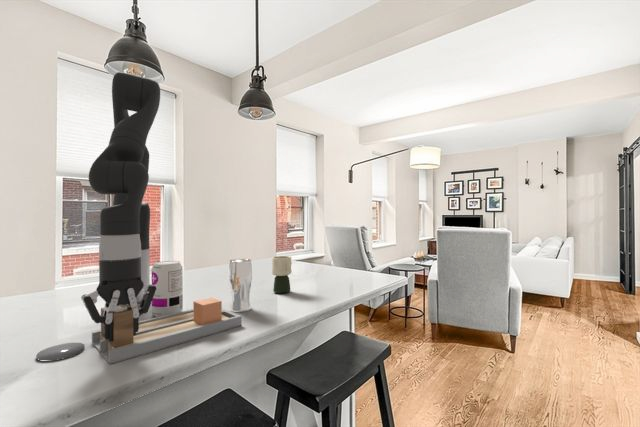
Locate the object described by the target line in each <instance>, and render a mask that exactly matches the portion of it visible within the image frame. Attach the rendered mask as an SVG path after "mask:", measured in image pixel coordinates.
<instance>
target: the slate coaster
mask: <svg viewBox="0 0 640 427" xmlns="http://www.w3.org/2000/svg"><path fill="white" fill-rule="evenodd" d="M85 347H86V345H85V343H83V342H66V343H65V342H64V343H61V344H57V345H52V346H50V347H47V348H44V349H42V350H41V351H39V352H37V354H36V356H35V359H36V358H37V359H39V360H57V359H62V358H66V359H68V358H67V357H69V358H71V357H70V356H72V357H74V356H73V355H75V356H77V355H79V354H80V352H81V353H82V352H83V351H85V349H84V348H85ZM78 353H79V354H78ZM76 354H77V355H76ZM37 359H36V360H37ZM62 360H63V359H62ZM57 361H58V360H57Z"/></svg>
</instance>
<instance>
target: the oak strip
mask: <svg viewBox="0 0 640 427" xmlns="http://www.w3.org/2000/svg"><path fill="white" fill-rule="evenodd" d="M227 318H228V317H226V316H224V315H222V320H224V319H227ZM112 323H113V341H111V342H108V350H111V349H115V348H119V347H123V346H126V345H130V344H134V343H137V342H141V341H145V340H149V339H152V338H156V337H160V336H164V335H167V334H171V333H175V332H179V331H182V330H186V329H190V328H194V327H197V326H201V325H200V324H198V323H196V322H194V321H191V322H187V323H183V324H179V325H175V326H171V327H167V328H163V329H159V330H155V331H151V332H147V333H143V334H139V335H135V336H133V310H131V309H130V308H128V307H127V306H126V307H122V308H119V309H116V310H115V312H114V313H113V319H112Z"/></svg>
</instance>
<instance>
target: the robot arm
mask: <svg viewBox="0 0 640 427" xmlns="http://www.w3.org/2000/svg"><path fill="white" fill-rule="evenodd" d="M111 83H112V84H111V97H112V99H111V100H112V110H113V126H114V127H113V130H112V131H111V136H110V139H109V142H108V146H106V147H105V149H104V150H103V151H102V153H100V155H99V156H97V157H96V159H94V161H93V162H92V165H91V167H90V168H89V172H88V183H89V185H90V187H91V188H92V190H94V192H96V193H97V194H100V195H113V201H112V205H111V206H110V205H109V206H106V207H103V208H102V209H101V210H100V215H99V216H100V217H99V218H100V220H99V222H100V223H99V224H100V226H99V227H100V233H99V234H100V239H99V245H98V272H99V276H98V278H99V282H98V283H99V284H98V285H97V286H96V289H95V291H93V292H90V293H88V294H82V295H81V301H82V302H83V304H84V307H85V308H86V310H87V312H88V313H89V316H90V318H91V320H92V321H94V323H95V324H101V323H103V336H104V338H105V339H106V340H108V341H109V342H111V341H113V323H112V319H113V313H114V312H115V310H116V306H121V305H126V307H128V308H130V309H131V310H133V336H135V335H136V332H138V330H139V321H140V320H139V319H140V316H141V315H143V314H147V313H148V312H149V309H150V307H151V305H152V299H153V296H154V294H155V291H156V286H153V285H152V283H151V279H150V275H151V274H150V273H151V271H150V270H151V266H150V264H151V263H150V262H151V261H150V228H151V227H150V224H151V222H150V221H151V209H150V208H151V207H150V205H149V202H145V201H143V200H144V196H145V194H146V191H147V187H148V184H149V181H150V180H149V179H150V175H149V167H150V152H149V150H148V147H147V145H146V144H147V139H148V135H149V133H150V131H151V128H152V125H153V124H154V122H155V119H156V116H157V114H158V111H159V107H160V103H161V87H160V84H159V82H157V81H156V80H154V79H151V78H147V77H144V76H140V75H135V74H132V73H128V72H123V71H117V72H116V73H114V75H113V78H112V82H111ZM129 111H131V112H135V113H132V114H131V115H129ZM99 297H100V298H101V299H103V301H104V302H105V303H104V307H103V308H104V314H103V315H101V313H100V312H99V310H98V309H97V307H96V305H95V304H96V303H97V302H98V298H99ZM138 303H139V307H138ZM112 306H113V307H112Z"/></svg>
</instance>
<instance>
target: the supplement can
mask: <svg viewBox="0 0 640 427" xmlns="http://www.w3.org/2000/svg"><path fill="white" fill-rule="evenodd" d="M183 280H184V279H183V266H182V263H181V261H179V260H163V261H156V262H154V263H153V266H152V267H151V285H153V286H156V291H155V294H154V296H153V299H152V302H151V314H152V315H153V317H154V318H156V317H161V316H165V315H170V314H174V313H179V312H183V311H184V308H183V306H184V303H183V301H184V300H183V299H184V297H183V295H184V294H183V290H184V288H183Z"/></svg>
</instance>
